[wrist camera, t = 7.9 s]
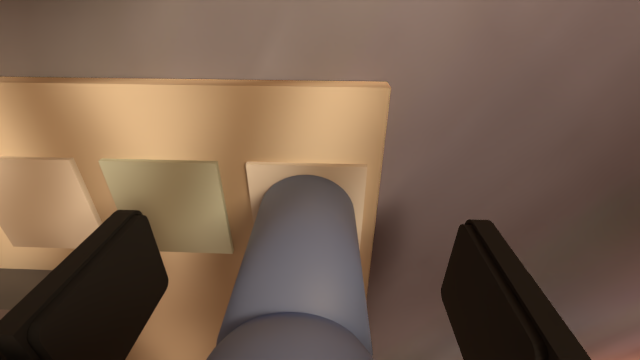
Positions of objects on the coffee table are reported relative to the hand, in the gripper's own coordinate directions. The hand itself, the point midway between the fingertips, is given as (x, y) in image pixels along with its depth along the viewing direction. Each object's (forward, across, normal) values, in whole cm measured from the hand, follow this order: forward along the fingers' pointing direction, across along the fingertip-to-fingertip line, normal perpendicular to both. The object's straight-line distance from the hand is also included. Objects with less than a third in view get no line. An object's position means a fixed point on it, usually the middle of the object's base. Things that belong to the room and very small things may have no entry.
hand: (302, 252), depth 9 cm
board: (+3, +10, +5) cm, 11 cm away
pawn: (+2, 0, 0) cm, 2 cm away
